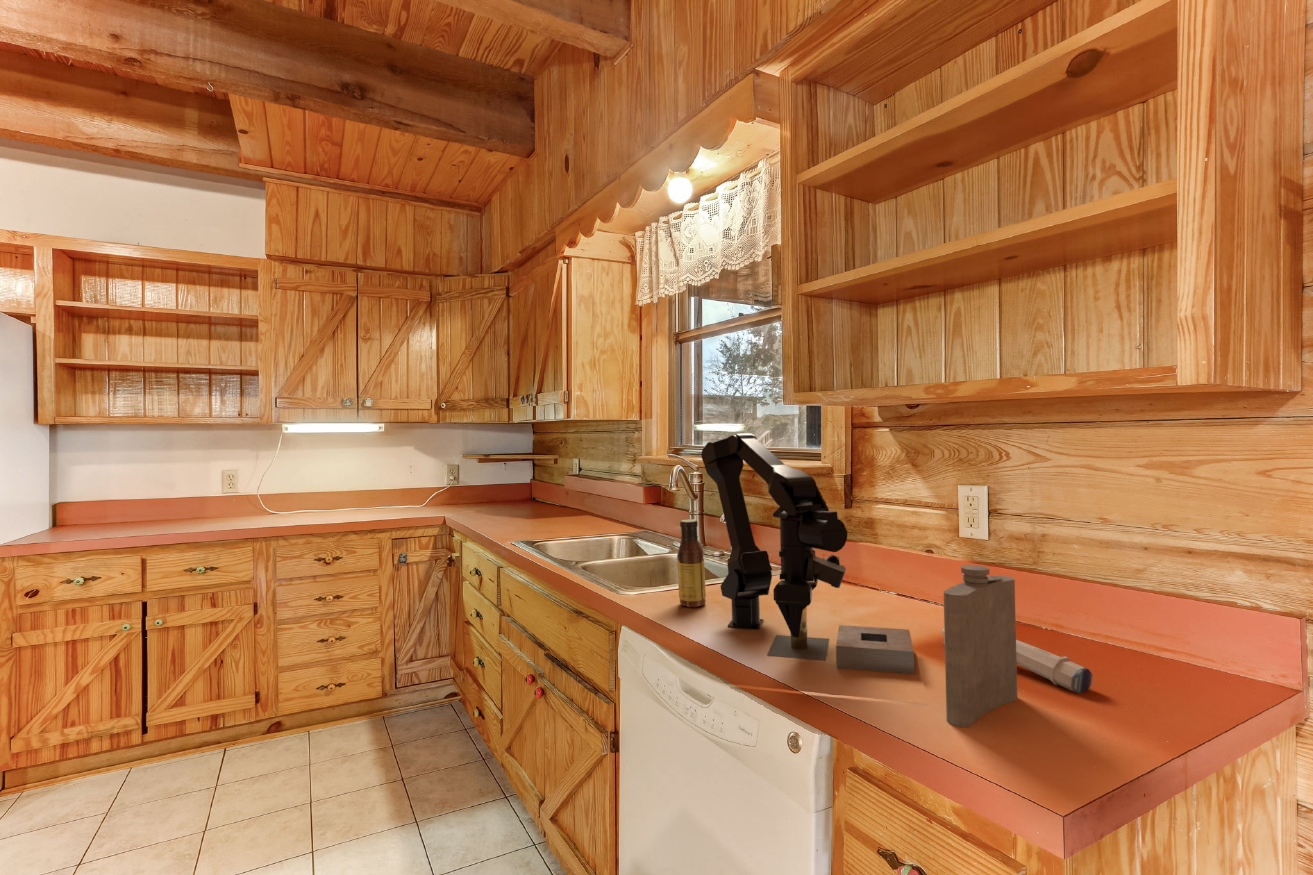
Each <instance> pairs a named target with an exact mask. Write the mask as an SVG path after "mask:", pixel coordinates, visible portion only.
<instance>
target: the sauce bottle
mask: <svg viewBox="0 0 1313 875" xmlns="http://www.w3.org/2000/svg"><path fill="white" fill-rule="evenodd" d="M698 524H699V523H698V519H693V518H690V519H689V518H688V519H682V520H680V521H679V526H680V531H681V532H680V533H681V537H680V538H681V539H680V543H679V547H678V552H677V554H676V555H677V556H676V560H677V561H676V562H677V577H678V578H677V579H678V580H677V581H678V598H679V604H680V605H681V606H682V607H685V606H687V607H686V608H691V607H694V608H699V606H701V607H703V606H705V605H706V602H707V601H706V598H707V592H706V591H707V590H706V574H705V559H704V548H703V546H702V544H701V543H700V541H699V539H698V538H699V536H698Z"/></svg>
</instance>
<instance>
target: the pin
mask: <svg viewBox="0 0 1313 875" xmlns="http://www.w3.org/2000/svg"><path fill="white" fill-rule="evenodd" d="M807 607H808V606H807ZM807 607H806V608H805V609H803V614H802V621H801V627H800V633H799V637H793V636H792V634H791V632H790V631H789V632H790V636H791V648H793V649H799V650H802V649H806V648H808V643H807V637H808V615H807V614H808V612H807V611H808V610H807V609H808V608H807Z"/></svg>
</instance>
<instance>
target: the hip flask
mask: <svg viewBox="0 0 1313 875" xmlns="http://www.w3.org/2000/svg"><path fill="white" fill-rule="evenodd" d="M960 573H961V574H963V575H962V581H963V582H961V583H958V584H955V585H953V586H951V587H949V588H946V589H945V590H944V591H943V620H944V621H943V622H944V623H943V624H944V625H943V626H944V633H945V645H944V664H945V668H944V669H945V671H944V672H945V702H946V703H945V706H946V707H945V709H946V711H945V712H946V721H947V723H948V724H950V725H952V726H954V727H960V728H970V727H972V726H973V725H974V723H975V722H977V721H978V720H979V719H980V718H981V717H982V716H984V715H985V714H988V713H989V712H991V711H993V710H995V709H997V708H999V707H1001V706H1004V705H1007V704H1010V703H1013V702H1016V701H1018V669H1017V668H1018V664H1017V659H1016V640H1017V631H1016V630H1017V628H1016V627H1017V626H1016V622H1017V620H1016V588H1015V585H1016V584H1015V583H1016V582H1015V581H1016V580H1015V578H1014V577H1011V576H1005V575H991V576H989V575H990V567H987V566H984V565H978V564H977V565H975V564H967V565H961V567H960Z"/></svg>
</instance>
